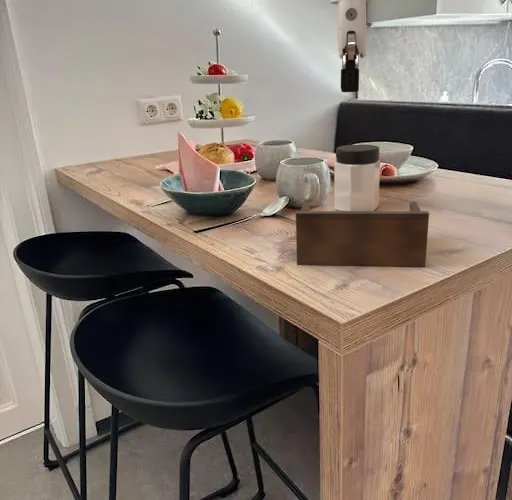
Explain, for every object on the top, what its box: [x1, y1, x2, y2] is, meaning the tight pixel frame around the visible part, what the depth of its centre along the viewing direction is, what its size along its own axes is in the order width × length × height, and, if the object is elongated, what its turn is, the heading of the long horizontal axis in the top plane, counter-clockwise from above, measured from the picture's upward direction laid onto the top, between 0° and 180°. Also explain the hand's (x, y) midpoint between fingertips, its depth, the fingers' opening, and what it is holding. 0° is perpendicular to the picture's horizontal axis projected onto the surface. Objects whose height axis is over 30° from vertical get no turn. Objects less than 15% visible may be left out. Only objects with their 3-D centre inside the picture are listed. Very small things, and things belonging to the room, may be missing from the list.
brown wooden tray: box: [295, 201, 430, 268], centre depth 76 cm, size 18×13×8 cm
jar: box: [333, 144, 381, 211], centre depth 98 cm, size 9×8×12 cm
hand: (349, 90), depth 98 cm, fingers open, 9 cm apart
